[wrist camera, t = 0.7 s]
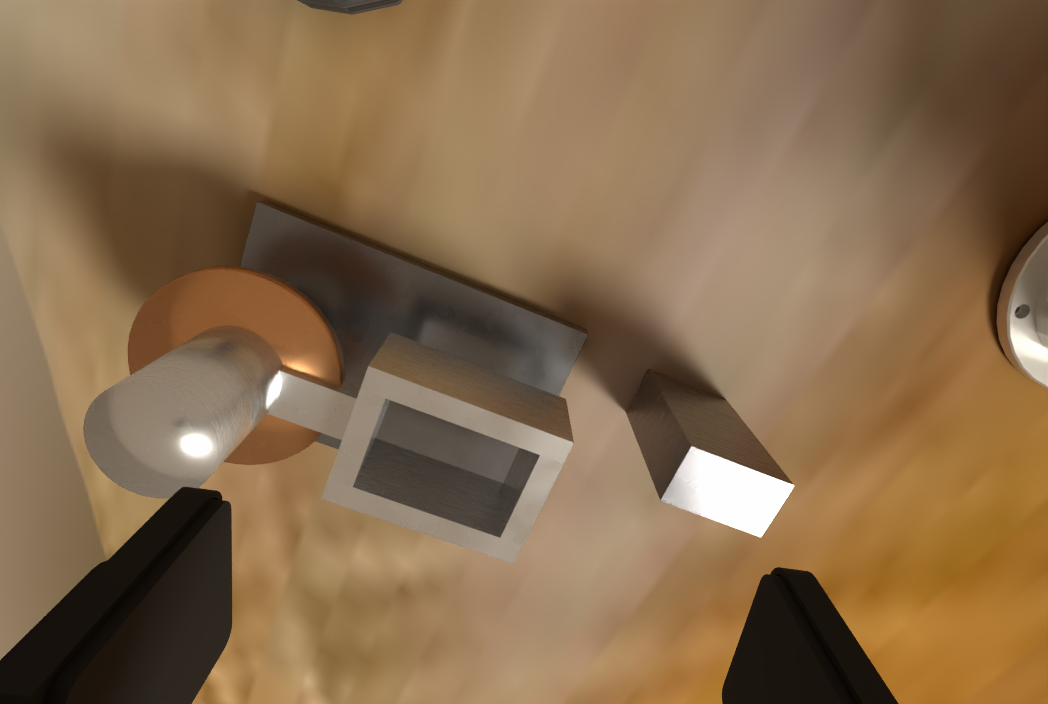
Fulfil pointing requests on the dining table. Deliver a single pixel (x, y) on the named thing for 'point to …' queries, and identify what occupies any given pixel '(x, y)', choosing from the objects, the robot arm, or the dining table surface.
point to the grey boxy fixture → (346, 384)
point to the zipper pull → (350, 5)
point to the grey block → (705, 455)
